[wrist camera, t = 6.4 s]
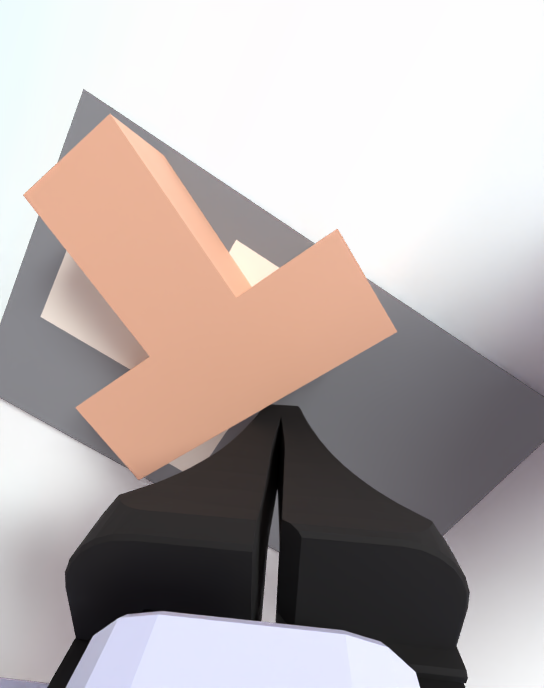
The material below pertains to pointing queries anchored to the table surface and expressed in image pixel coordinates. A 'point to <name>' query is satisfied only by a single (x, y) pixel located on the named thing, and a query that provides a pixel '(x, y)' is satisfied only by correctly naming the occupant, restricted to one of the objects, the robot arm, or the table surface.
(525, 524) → the table surface
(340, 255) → the t block
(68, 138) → the t mat
